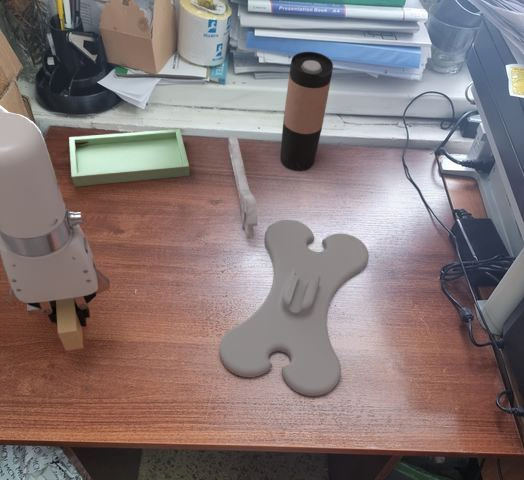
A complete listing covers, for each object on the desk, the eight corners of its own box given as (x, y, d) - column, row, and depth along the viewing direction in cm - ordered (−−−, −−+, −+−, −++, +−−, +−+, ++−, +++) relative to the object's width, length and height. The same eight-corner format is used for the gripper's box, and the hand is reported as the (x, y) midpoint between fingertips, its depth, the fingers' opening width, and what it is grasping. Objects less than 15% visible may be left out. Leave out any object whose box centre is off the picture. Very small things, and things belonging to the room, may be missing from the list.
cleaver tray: (74, 186, 96) (71, 176, 94) (71, 147, 102) (68, 137, 100) (189, 175, 100) (189, 166, 98) (180, 138, 106) (179, 128, 104)
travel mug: (281, 145, 107) (293, 48, 91) (316, 151, 107) (335, 54, 90) (276, 168, 103) (288, 70, 86) (313, 174, 103) (332, 77, 86)
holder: (211, 369, 77) (210, 351, 73) (271, 220, 95) (274, 200, 91) (332, 404, 75) (339, 389, 71) (370, 247, 93) (377, 227, 89)
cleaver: (28, 263, 77) (19, 243, 74) (75, 257, 79) (69, 237, 75) (30, 356, 69) (20, 339, 65) (83, 348, 70) (76, 330, 67)
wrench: (236, 159, 108) (256, 249, 90) (227, 159, 108) (246, 250, 90) (237, 122, 102) (258, 211, 84) (228, 122, 102) (247, 212, 83)
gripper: (105, 196, 61) (126, 292, 76) (-41, 211, 57) (12, 308, 73) (111, 242, 57) (132, 333, 72) (-45, 260, 54) (12, 351, 69)
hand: (72, 319), depth 72 cm, fingers closed on cleaver, 2 cm apart
